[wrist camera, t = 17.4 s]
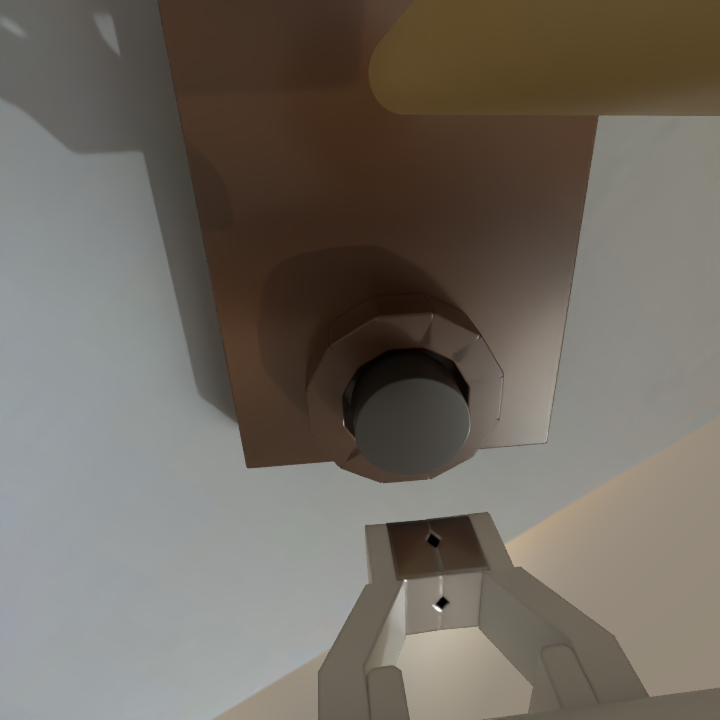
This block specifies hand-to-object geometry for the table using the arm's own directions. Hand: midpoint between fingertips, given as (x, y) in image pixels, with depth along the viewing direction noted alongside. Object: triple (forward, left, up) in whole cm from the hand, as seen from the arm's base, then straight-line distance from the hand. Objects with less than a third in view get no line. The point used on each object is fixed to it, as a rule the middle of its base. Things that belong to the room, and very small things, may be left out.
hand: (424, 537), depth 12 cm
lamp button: (0, 0, -6) cm, 6 cm away
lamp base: (+5, 0, -9) cm, 10 cm away
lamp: (+10, 0, -5) cm, 11 cm away
